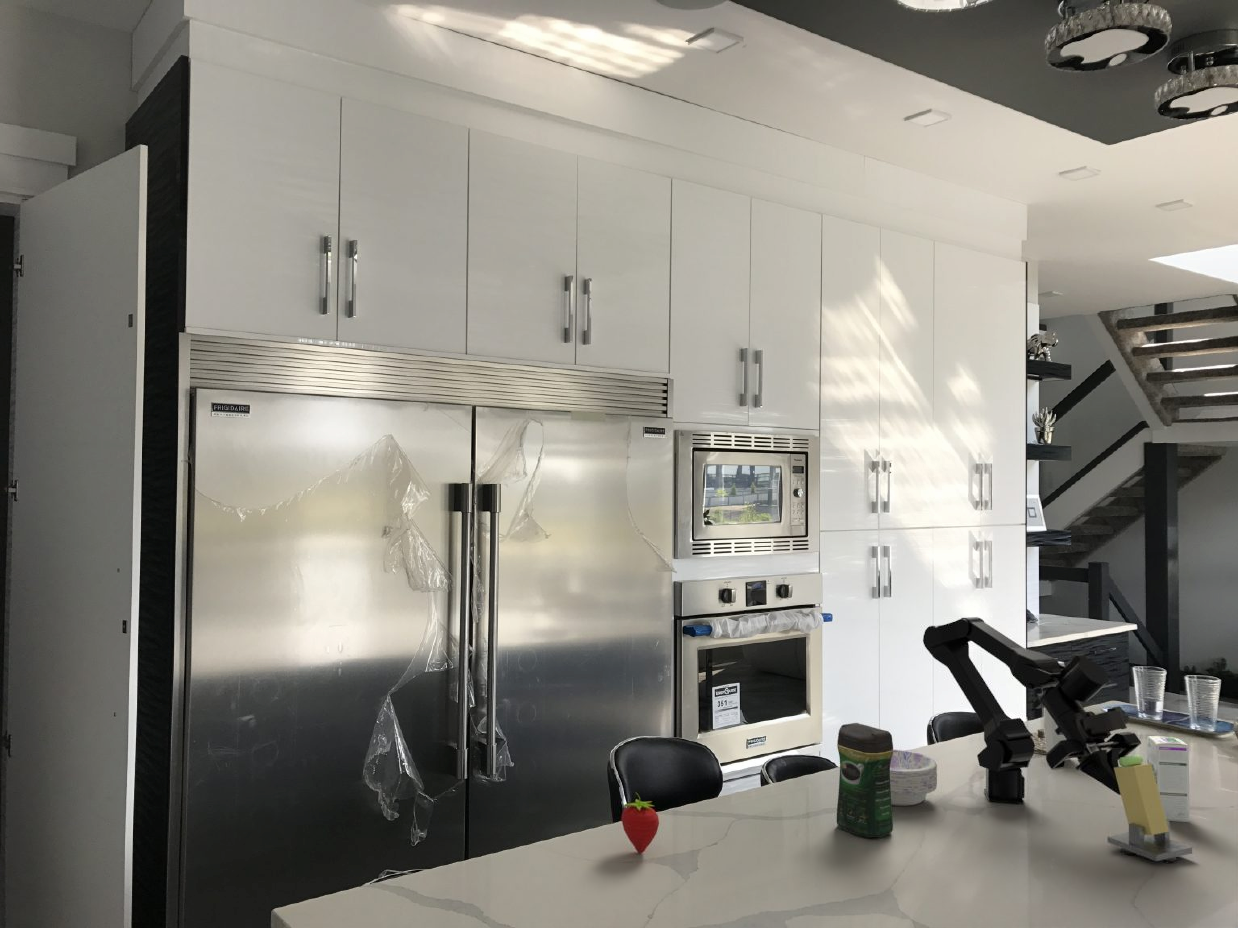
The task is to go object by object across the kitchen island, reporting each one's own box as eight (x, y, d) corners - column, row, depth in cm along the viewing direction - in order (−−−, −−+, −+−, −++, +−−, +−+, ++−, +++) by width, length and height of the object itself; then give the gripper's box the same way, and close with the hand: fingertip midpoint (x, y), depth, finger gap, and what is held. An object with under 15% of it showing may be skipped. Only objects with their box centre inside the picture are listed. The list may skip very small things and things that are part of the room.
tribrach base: (1107, 848, 164) (1107, 817, 164) (1142, 840, 168) (1142, 811, 168) (1156, 867, 156) (1156, 835, 156) (1192, 859, 160) (1192, 827, 160)
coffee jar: (900, 834, 169) (901, 728, 170) (870, 842, 165) (871, 734, 165) (858, 818, 177) (860, 717, 178) (828, 825, 173) (830, 722, 173)
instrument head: (1131, 834, 163) (1111, 757, 167) (1148, 831, 165) (1128, 755, 169) (1151, 834, 159) (1131, 756, 163) (1169, 831, 161) (1148, 753, 165)
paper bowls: (851, 804, 185) (852, 763, 185) (862, 782, 199) (863, 744, 199) (934, 816, 179) (934, 773, 179) (939, 792, 193) (939, 753, 193)
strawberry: (633, 863, 154) (634, 801, 154) (613, 847, 160) (615, 787, 161) (666, 858, 156) (667, 796, 156) (645, 842, 163) (646, 783, 163)
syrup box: (1190, 822, 178) (1191, 744, 178) (1156, 819, 179) (1156, 742, 180) (1179, 812, 184) (1179, 736, 184) (1146, 809, 185) (1146, 734, 185)
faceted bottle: (1078, 761, 218) (1078, 665, 218) (1050, 761, 218) (1050, 664, 218) (1065, 754, 224) (1066, 660, 225) (1038, 753, 224) (1038, 659, 225)
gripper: (1059, 695, 168) (1115, 775, 158) (1131, 687, 176) (1189, 763, 166) (1023, 729, 175) (1074, 808, 165) (1094, 720, 183) (1147, 796, 173)
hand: (1122, 793), depth 167 cm, fingers closed
